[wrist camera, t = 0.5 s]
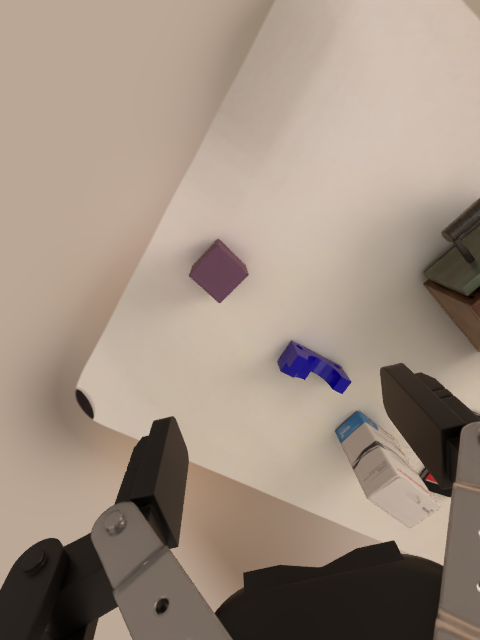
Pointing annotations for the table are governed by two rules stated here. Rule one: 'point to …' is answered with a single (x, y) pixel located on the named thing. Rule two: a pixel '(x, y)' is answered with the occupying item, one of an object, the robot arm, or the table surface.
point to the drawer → (460, 256)
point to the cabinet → (459, 310)
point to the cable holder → (312, 366)
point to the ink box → (385, 471)
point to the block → (219, 271)
